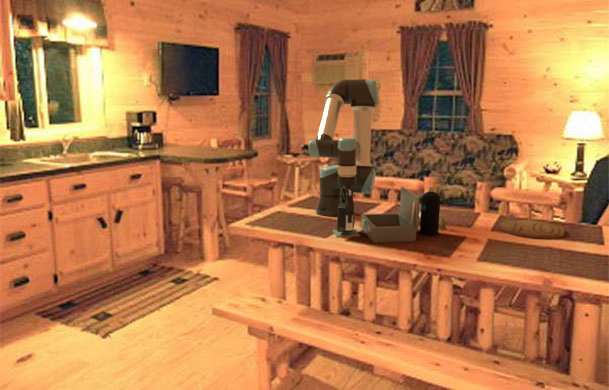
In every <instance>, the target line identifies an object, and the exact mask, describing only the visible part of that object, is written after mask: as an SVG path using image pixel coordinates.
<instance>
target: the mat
mask: <svg viewBox="0 0 609 390" xmlns="http://www.w3.org/2000/svg"><path fill="white" fill-rule="evenodd" d="M332 233H333V235H334V236H335V237H336V238H351V237H353V238H354V237H361V234H360V233H359V232H358V231H357V229H356V228H353V230H352V232H337V229H332Z"/></svg>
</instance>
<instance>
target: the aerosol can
mask: <svg viewBox="0 0 609 390" xmlns="http://www.w3.org/2000/svg"><path fill="white" fill-rule="evenodd" d="M434 188H435V187H434V186H430V185H429V187H428V191H426V192H423V194H421V195H420V199H421V200H420V202H421V203H420V218H419V230H418V233H419V234H421V235H422V236H430V237H431V236H432V237H433V236H434V237H435V236H437V235H440V229H439V228H440V213H441V212H440V211H441V198H442V196H440V194H439V193H438V192H435V191H434Z"/></svg>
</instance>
